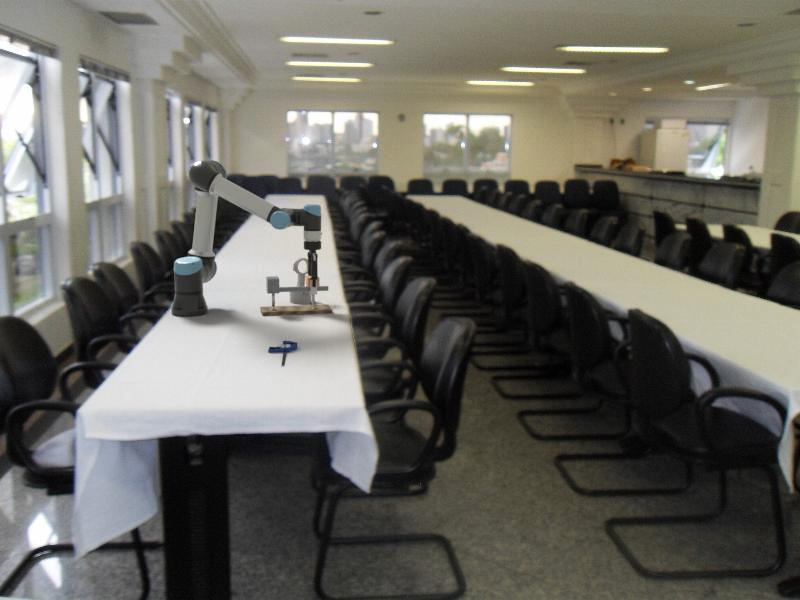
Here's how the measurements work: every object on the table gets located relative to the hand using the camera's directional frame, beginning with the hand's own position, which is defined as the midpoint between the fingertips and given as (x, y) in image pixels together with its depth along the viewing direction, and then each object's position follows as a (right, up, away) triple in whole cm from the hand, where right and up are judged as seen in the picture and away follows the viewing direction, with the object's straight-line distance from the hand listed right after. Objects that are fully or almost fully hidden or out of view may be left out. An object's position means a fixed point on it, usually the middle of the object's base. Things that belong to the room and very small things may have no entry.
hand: (312, 292), depth 348 cm
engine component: (-8, -4, +23) cm, 25 cm away
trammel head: (0, -6, +1) cm, 6 cm away
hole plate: (-7, -8, 0) cm, 11 cm away
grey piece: (-6, -7, 0) cm, 9 cm away
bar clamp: (-2, -24, -76) cm, 79 cm away
